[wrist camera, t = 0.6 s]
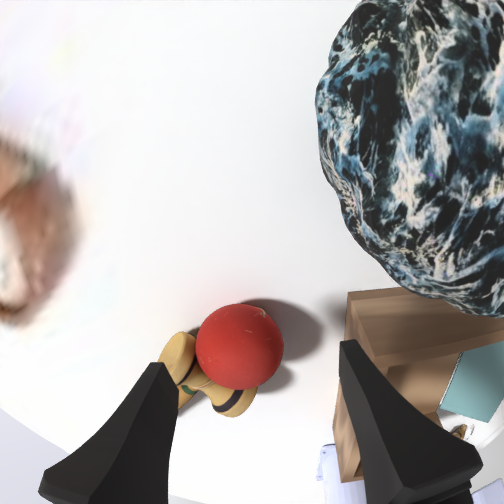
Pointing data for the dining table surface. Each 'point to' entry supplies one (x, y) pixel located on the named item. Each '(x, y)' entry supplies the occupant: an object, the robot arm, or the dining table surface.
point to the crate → (407, 353)
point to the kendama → (225, 357)
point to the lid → (477, 383)
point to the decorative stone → (421, 144)
